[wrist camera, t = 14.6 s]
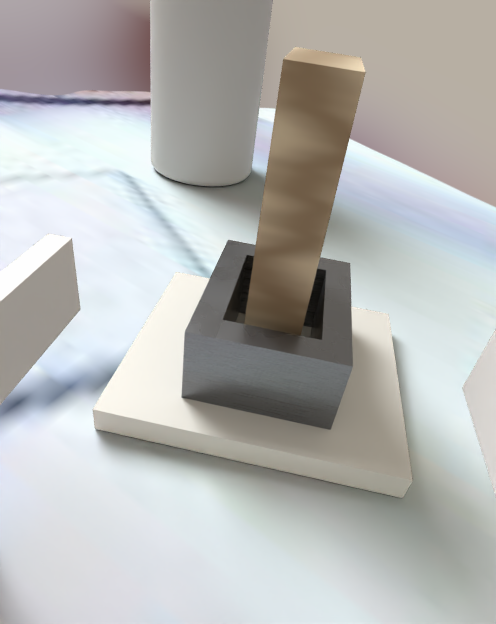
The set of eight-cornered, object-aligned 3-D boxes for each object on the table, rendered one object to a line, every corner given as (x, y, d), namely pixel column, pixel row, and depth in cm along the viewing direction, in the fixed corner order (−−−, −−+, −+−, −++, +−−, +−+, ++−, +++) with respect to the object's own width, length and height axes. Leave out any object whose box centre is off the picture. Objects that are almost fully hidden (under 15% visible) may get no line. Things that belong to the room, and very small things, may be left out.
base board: (94, 428, 23) (92, 409, 22) (175, 288, 35) (176, 272, 34) (402, 498, 22) (412, 480, 21) (382, 330, 34) (388, 314, 33)
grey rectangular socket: (181, 397, 24) (184, 331, 21) (222, 296, 32) (228, 239, 29) (330, 429, 23) (352, 366, 21) (333, 319, 31) (350, 263, 29)
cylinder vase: (202, 197, 50) (221, -107, 35) (129, 163, 56) (121, -110, 41) (270, 175, 58) (308, -77, 43) (201, 148, 64) (214, -83, 49)
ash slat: (236, 375, 26) (283, 59, 16) (251, 324, 30) (295, 47, 20) (288, 386, 25) (365, 72, 16) (295, 333, 30) (360, 57, 20)
